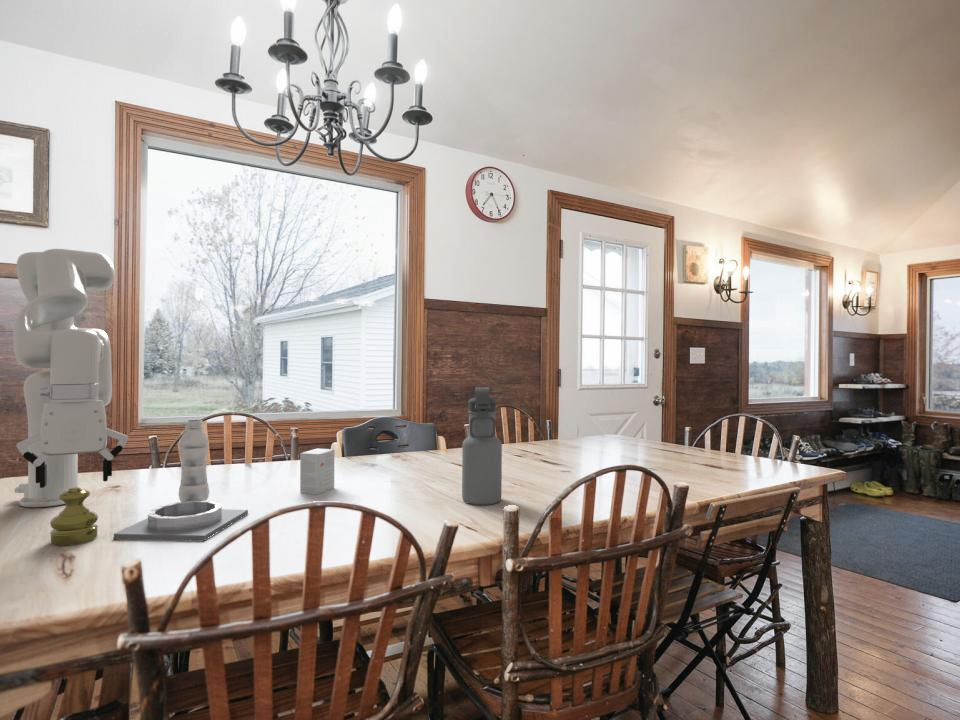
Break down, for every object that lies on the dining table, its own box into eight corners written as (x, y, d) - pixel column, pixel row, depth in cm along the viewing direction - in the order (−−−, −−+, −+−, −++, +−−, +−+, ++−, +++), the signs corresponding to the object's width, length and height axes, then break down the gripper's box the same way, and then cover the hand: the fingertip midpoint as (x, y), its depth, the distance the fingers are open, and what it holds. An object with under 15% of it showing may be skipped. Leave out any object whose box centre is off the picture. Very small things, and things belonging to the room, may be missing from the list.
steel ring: (133, 530, 109) (133, 517, 109) (173, 511, 122) (173, 500, 122) (199, 531, 108) (199, 518, 108) (232, 512, 122) (232, 501, 122)
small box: (316, 486, 151) (317, 447, 151) (334, 487, 150) (335, 449, 150) (299, 493, 144) (299, 452, 144) (318, 494, 142) (318, 454, 142)
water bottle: (502, 506, 132) (503, 389, 132) (461, 506, 132) (462, 389, 132) (500, 495, 142) (500, 386, 142) (462, 495, 142) (462, 386, 142)
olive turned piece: (102, 532, 111) (102, 482, 111) (91, 544, 104) (91, 491, 104) (58, 536, 108) (58, 485, 108) (43, 548, 101) (43, 494, 101)
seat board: (113, 539, 107) (113, 533, 107) (169, 512, 125) (169, 508, 125) (204, 540, 106) (204, 535, 106) (247, 514, 124) (247, 509, 124)
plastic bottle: (196, 508, 129) (197, 422, 129) (171, 506, 130) (171, 421, 130) (215, 501, 135) (215, 419, 135) (191, 499, 137) (191, 418, 137)
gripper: (13, 396, 98) (13, 493, 98) (128, 392, 107) (128, 481, 107) (20, 394, 104) (20, 485, 104) (128, 391, 114) (128, 475, 113)
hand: (75, 483), depth 106 cm, fingers open, 9 cm apart
